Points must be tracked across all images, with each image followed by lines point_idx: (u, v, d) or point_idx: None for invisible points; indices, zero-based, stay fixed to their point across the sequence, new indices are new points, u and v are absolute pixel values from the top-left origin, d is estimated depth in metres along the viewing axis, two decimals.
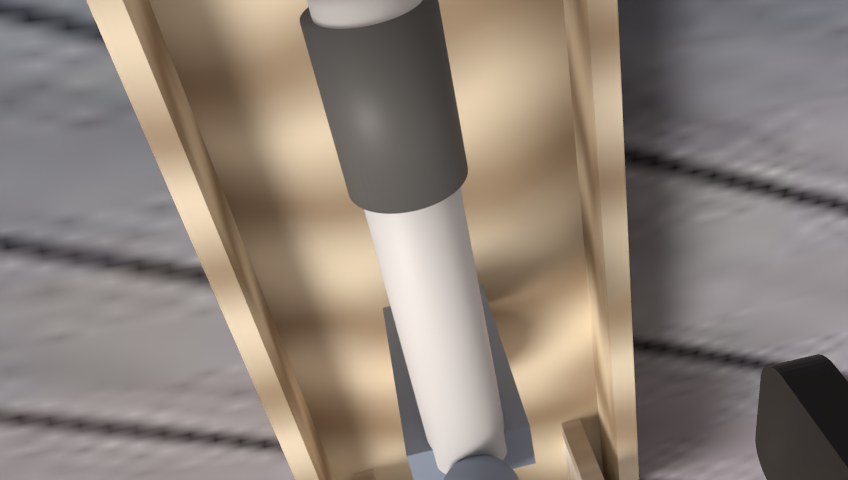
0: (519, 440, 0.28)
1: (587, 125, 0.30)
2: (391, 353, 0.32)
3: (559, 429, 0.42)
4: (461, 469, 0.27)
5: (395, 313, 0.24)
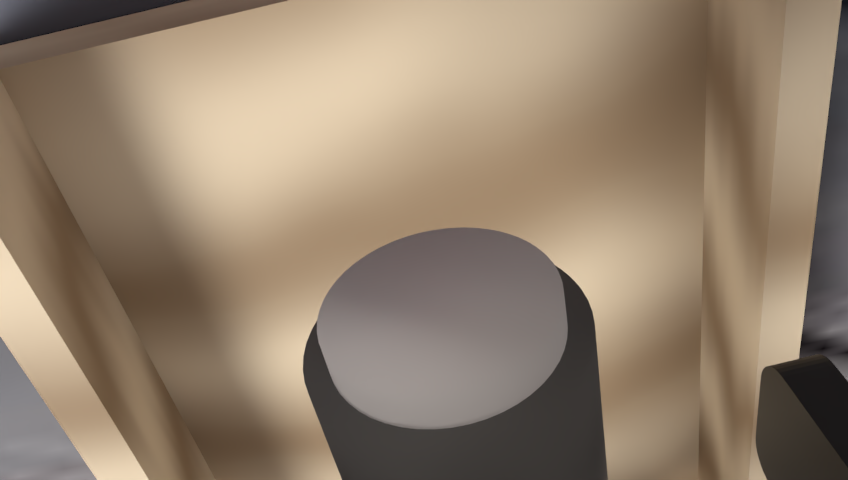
0: None
1: (736, 340, 0.20)
2: None
3: None
4: None
5: None
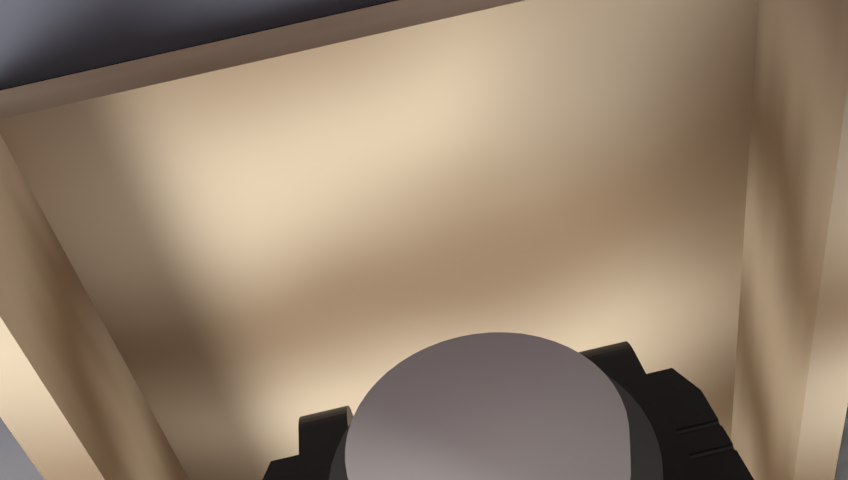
0: None
1: (775, 405, 0.19)
2: None
3: None
4: None
5: None
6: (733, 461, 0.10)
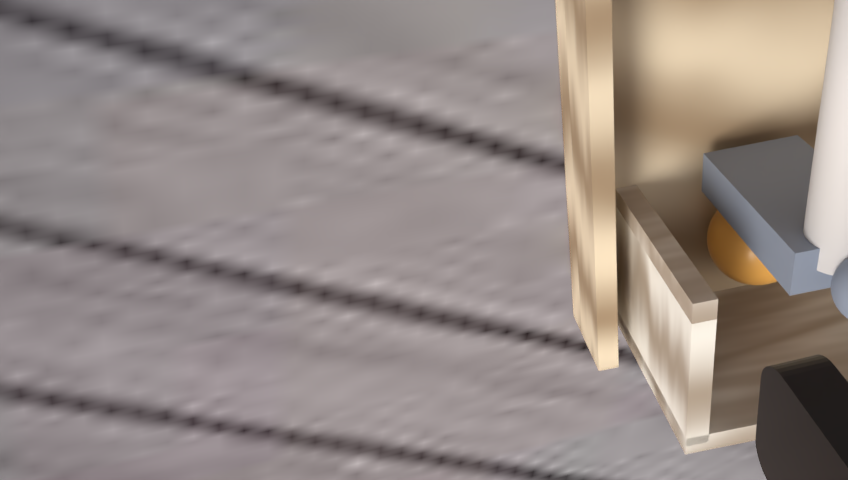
0: None
1: None
2: (733, 184, 0.34)
3: None
4: None
5: (842, 90, 0.26)
6: None
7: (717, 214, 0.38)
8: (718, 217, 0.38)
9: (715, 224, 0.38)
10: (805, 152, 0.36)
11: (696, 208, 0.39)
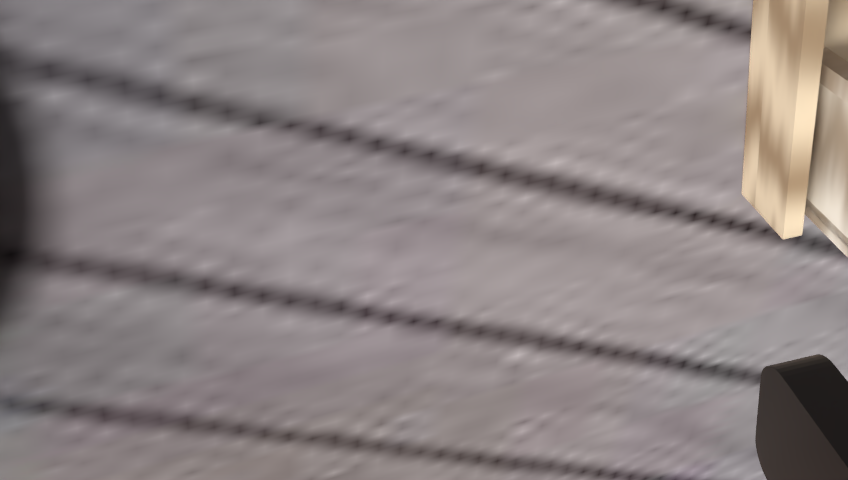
0: None
1: None
2: None
3: None
4: None
5: None
6: None
7: None
8: None
9: None
10: None
11: None
